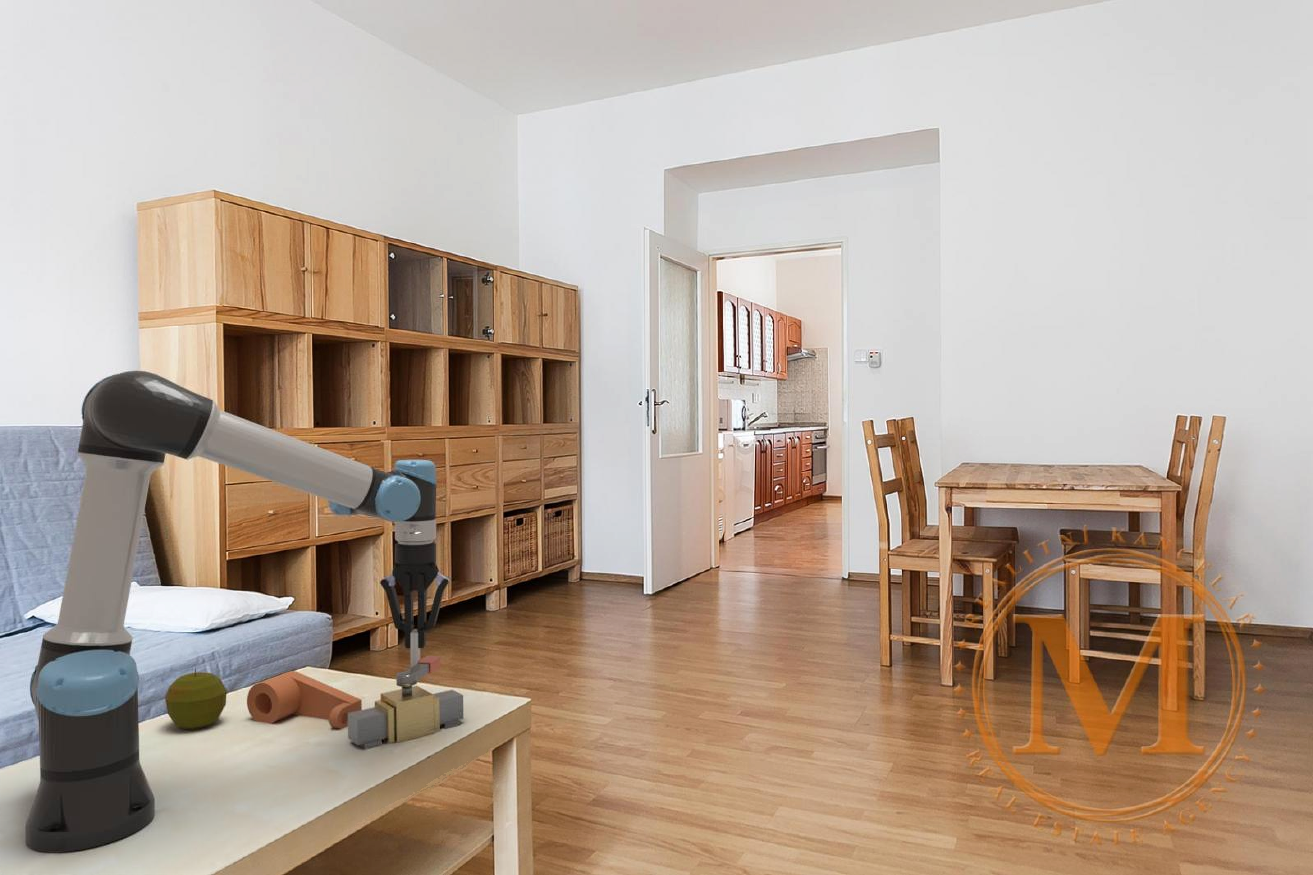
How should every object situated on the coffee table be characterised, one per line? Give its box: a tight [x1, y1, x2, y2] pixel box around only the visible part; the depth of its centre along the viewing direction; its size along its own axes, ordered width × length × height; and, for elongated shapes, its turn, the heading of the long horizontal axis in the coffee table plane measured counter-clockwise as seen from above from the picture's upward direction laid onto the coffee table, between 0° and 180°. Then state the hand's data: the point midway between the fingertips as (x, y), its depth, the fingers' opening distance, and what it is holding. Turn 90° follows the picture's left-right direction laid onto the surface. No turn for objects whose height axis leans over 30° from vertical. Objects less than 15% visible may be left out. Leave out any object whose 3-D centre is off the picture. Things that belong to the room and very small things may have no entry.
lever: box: [395, 655, 441, 688], centre depth 163 cm, size 13×4×2 cm, turn 170°
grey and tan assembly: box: [347, 685, 465, 750], centre depth 158 cm, size 20×7×8 cm, turn 130°
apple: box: [164, 668, 228, 731], centre depth 162 cm, size 10×10×11 cm
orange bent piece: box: [246, 670, 363, 730], centre depth 165 cm, size 20×8×8 cm, turn 69°
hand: (415, 664), depth 166 cm, fingers closed
